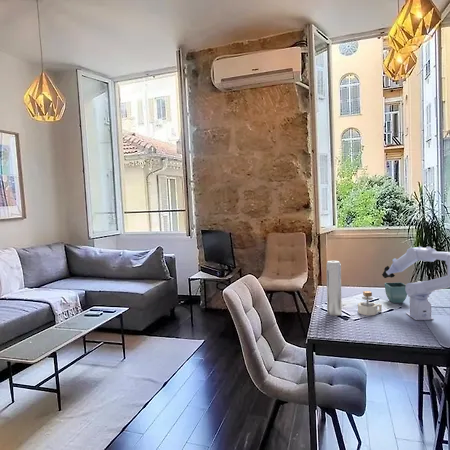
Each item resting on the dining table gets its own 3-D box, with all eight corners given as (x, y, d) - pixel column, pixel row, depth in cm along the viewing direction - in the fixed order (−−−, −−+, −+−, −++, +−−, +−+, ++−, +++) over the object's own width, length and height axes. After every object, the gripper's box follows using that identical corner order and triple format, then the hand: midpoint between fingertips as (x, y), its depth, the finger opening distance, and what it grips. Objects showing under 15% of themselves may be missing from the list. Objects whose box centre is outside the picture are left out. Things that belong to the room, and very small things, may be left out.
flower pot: (408, 304, 196) (408, 286, 196) (390, 304, 197) (390, 286, 196) (401, 299, 205) (401, 282, 204) (384, 299, 205) (384, 282, 205)
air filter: (342, 315, 183) (341, 262, 180) (327, 315, 184) (326, 262, 182) (341, 311, 189) (340, 259, 187) (327, 311, 190) (326, 260, 188)
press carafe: (384, 314, 182) (384, 306, 182) (362, 315, 182) (362, 307, 182) (377, 309, 190) (377, 301, 190) (356, 310, 190) (356, 302, 190)
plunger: (374, 305, 183) (374, 293, 183) (364, 306, 183) (364, 293, 183) (370, 303, 188) (370, 290, 187) (360, 303, 188) (360, 290, 187)
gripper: (408, 248, 189) (393, 259, 201) (388, 261, 183) (373, 272, 195) (419, 260, 187) (402, 271, 198) (398, 274, 181) (383, 284, 192)
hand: (388, 272), depth 196 cm, fingers open, 7 cm apart
